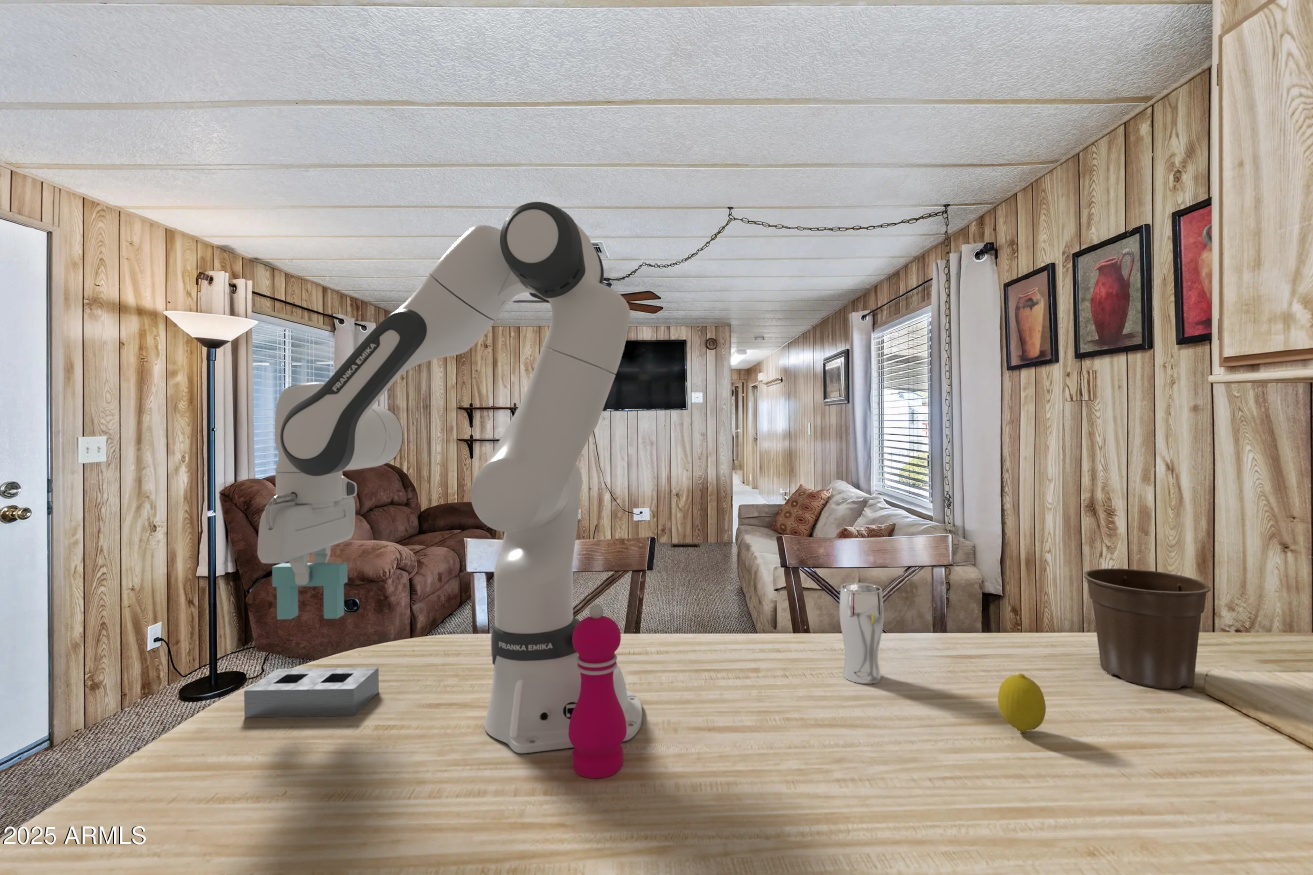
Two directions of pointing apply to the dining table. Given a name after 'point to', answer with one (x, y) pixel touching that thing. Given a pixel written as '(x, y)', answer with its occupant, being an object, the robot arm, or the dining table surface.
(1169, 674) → the plant pot
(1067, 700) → the dining table surface
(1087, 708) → the dining table surface
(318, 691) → the slotted base block
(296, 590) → the teal arch block
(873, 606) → the beer glass
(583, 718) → the pepper mill
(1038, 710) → the lemon
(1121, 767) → the dining table surface
